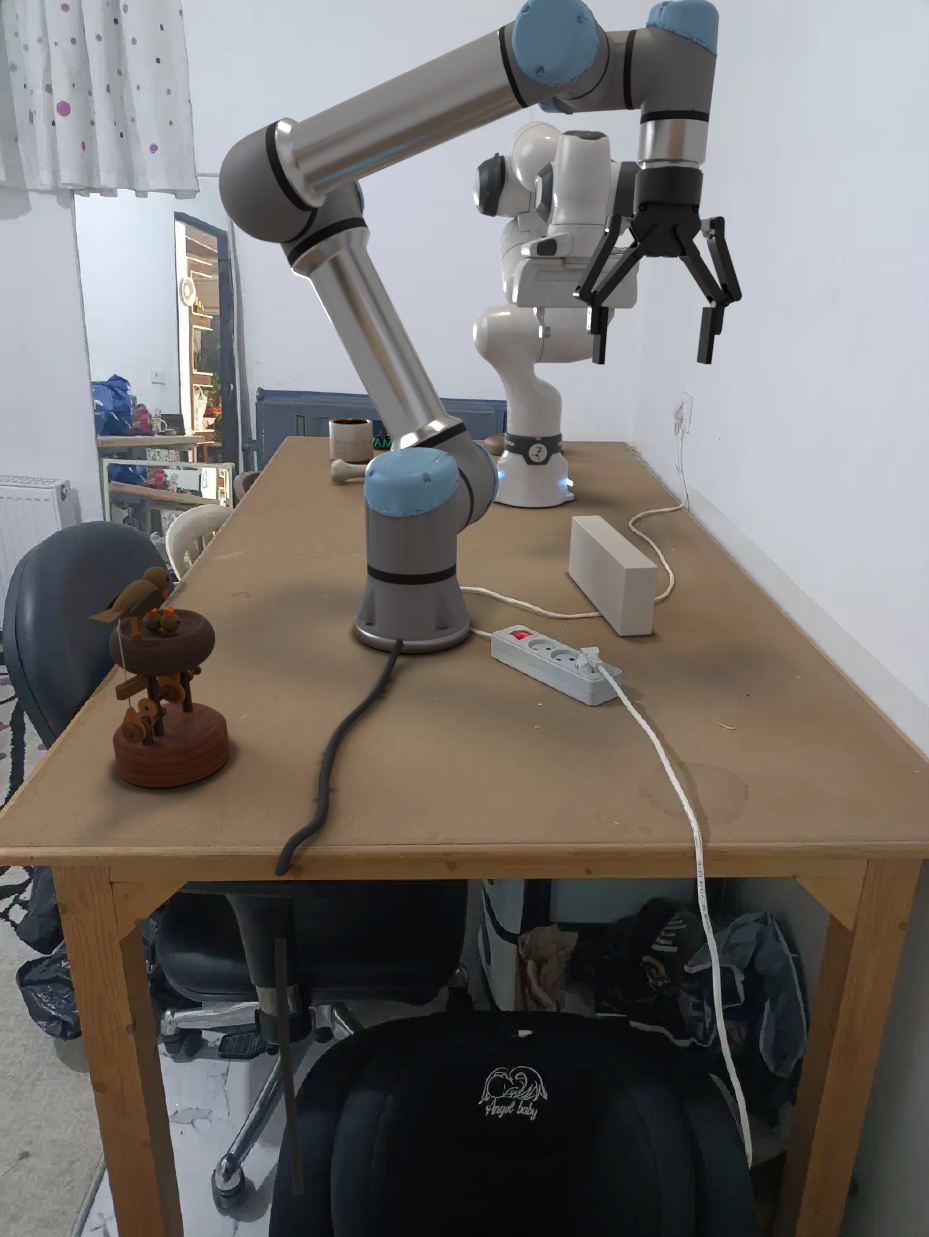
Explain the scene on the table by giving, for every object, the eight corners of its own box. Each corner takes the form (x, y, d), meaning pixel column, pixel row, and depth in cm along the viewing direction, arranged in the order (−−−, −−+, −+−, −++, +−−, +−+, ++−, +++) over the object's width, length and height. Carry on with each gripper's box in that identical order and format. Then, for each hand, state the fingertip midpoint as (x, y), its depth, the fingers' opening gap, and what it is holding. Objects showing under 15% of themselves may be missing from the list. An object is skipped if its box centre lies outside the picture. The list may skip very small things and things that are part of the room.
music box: (204, 802, 76) (158, 593, 68) (89, 801, 77) (32, 596, 70) (260, 719, 90) (227, 538, 82) (162, 719, 91) (122, 542, 84)
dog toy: (417, 477, 197) (417, 456, 195) (420, 483, 191) (420, 461, 189) (330, 479, 194) (329, 457, 192) (330, 485, 188) (329, 463, 186)
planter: (327, 456, 217) (325, 418, 214) (369, 454, 220) (368, 417, 217) (334, 465, 208) (332, 425, 204) (377, 463, 211) (376, 424, 207)
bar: (651, 634, 113) (658, 567, 110) (619, 636, 113) (626, 568, 109) (594, 572, 136) (599, 515, 133) (568, 573, 136) (572, 516, 132)
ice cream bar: (489, 466, 209) (490, 449, 208) (482, 444, 235) (482, 429, 234) (574, 466, 210) (575, 449, 209) (557, 445, 236) (558, 430, 234)
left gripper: (757, 175, 101) (733, 360, 109) (554, 168, 97) (545, 360, 105) (789, 168, 94) (761, 366, 102) (572, 160, 90) (561, 366, 98)
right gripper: (634, 247, 138) (626, 336, 144) (511, 245, 135) (508, 336, 140) (647, 247, 133) (639, 339, 138) (520, 244, 129) (516, 339, 135)
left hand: (651, 363), depth 104 cm, fingers open, 13 cm apart
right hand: (572, 337), depth 139 cm, fingers open, 8 cm apart
